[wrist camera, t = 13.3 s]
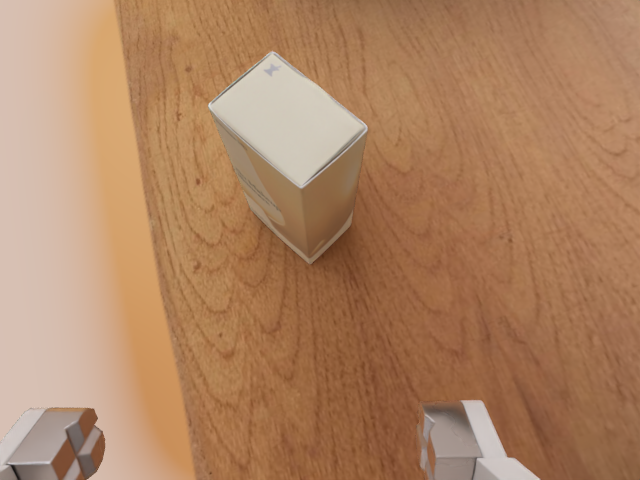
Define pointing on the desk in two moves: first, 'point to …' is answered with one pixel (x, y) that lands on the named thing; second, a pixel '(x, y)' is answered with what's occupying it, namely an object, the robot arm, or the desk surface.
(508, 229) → the desk surface
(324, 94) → the cosmetic box
